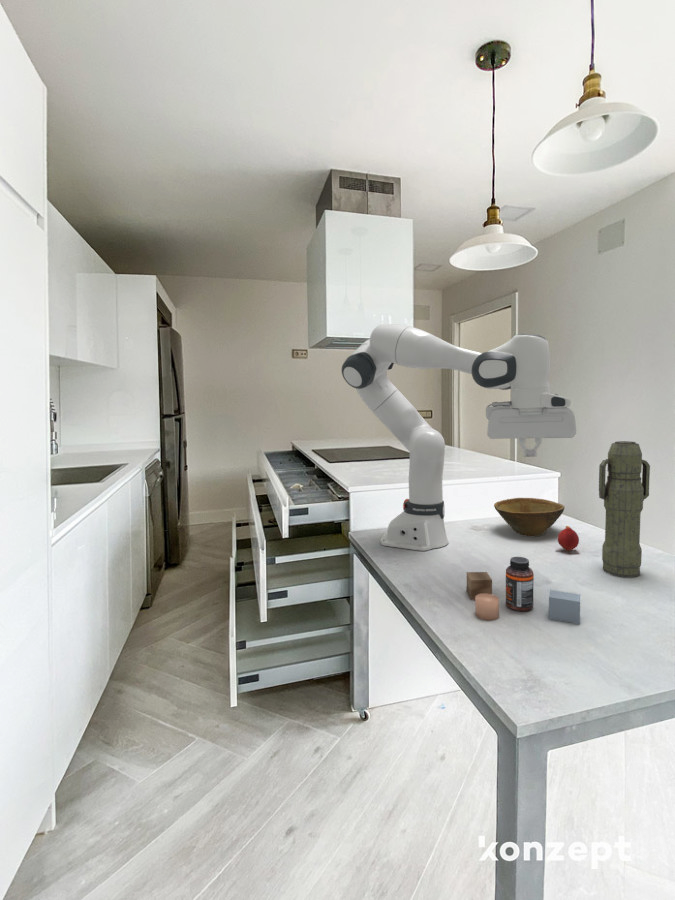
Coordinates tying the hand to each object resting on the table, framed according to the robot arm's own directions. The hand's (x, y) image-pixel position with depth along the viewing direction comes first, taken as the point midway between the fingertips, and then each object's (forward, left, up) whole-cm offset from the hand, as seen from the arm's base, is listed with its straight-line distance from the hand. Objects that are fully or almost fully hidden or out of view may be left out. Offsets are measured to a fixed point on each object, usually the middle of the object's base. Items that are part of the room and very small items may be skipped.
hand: (529, 456), depth 113 cm
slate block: (+6, -17, -33) cm, 38 cm away
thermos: (+24, +14, -33) cm, 43 cm away
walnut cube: (-12, -10, -33) cm, 37 cm away
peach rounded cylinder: (-10, -20, -33) cm, 40 cm away
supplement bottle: (-3, -14, -33) cm, 36 cm away
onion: (+13, +28, -33) cm, 45 cm away
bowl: (+3, +46, -33) cm, 57 cm away
